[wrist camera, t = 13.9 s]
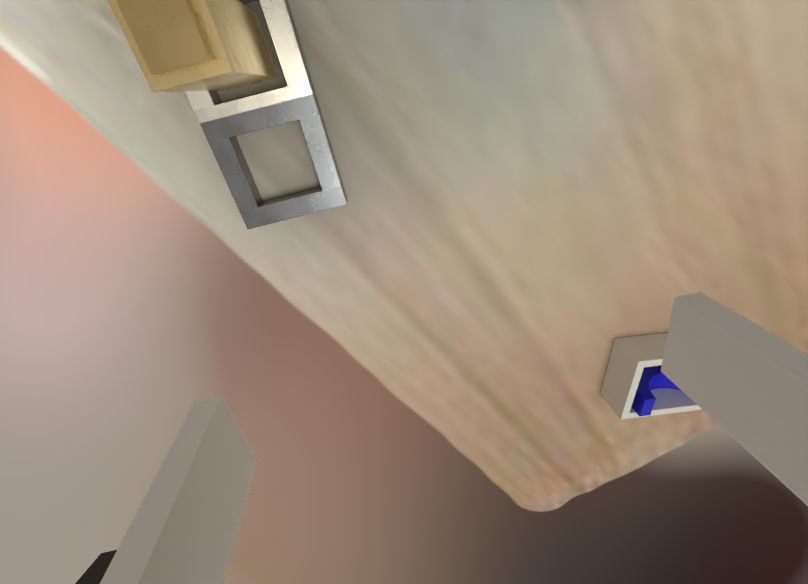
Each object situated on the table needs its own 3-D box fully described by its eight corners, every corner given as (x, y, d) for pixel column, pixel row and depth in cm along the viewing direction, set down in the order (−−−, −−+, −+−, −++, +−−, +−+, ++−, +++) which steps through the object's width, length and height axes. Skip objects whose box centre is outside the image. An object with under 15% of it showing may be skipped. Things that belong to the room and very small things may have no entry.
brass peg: (203, 28, 31) (93, -14, 18) (257, 14, 31) (185, -38, 18) (227, 90, 33) (145, 92, 20) (278, 77, 33) (228, 70, 20)
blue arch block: (699, 353, 55) (735, 381, 50) (689, 377, 57) (723, 406, 52) (620, 361, 54) (648, 391, 49) (613, 385, 56) (639, 416, 51)
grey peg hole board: (81, -167, 26) (58, -188, 24) (224, -206, 25) (213, -230, 24) (252, 222, 39) (247, 230, 37) (346, 198, 39) (346, 204, 37)
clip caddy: (614, 338, 52) (638, 361, 47) (738, 325, 53) (772, 346, 49) (600, 393, 56) (620, 419, 52) (713, 380, 58) (743, 404, 53)
